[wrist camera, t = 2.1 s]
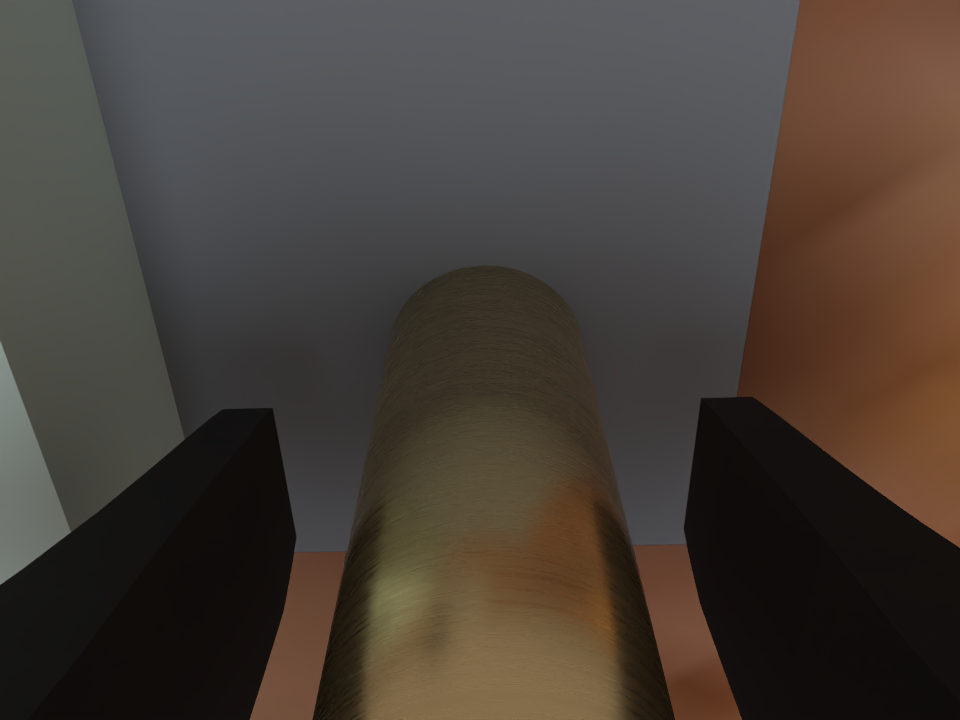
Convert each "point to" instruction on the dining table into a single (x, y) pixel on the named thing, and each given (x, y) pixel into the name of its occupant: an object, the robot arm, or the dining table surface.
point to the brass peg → (489, 526)
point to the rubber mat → (443, 203)
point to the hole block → (67, 298)
